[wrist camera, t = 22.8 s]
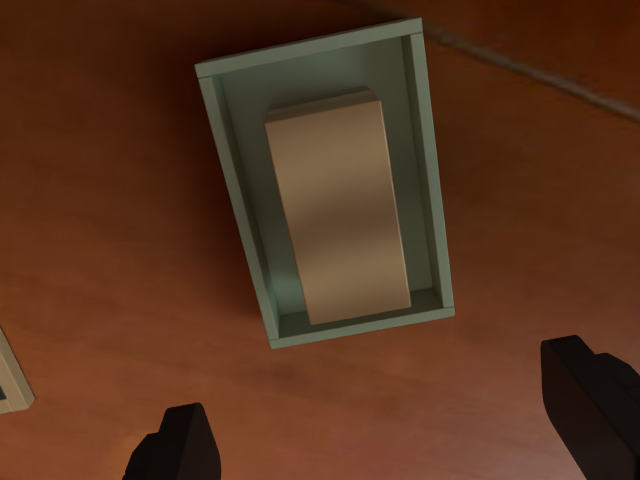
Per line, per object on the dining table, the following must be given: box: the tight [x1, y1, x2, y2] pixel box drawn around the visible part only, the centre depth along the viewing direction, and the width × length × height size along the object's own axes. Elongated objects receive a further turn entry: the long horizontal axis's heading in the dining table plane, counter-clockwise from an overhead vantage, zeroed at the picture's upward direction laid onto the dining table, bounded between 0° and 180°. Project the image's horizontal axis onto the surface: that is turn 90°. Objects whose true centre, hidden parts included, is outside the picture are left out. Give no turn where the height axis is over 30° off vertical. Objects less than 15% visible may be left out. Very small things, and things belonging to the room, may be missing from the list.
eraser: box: [263, 86, 411, 325], centre depth 27 cm, size 10×5×5 cm, turn 11°
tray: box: [194, 17, 455, 349], centre depth 28 cm, size 15×10×3 cm
